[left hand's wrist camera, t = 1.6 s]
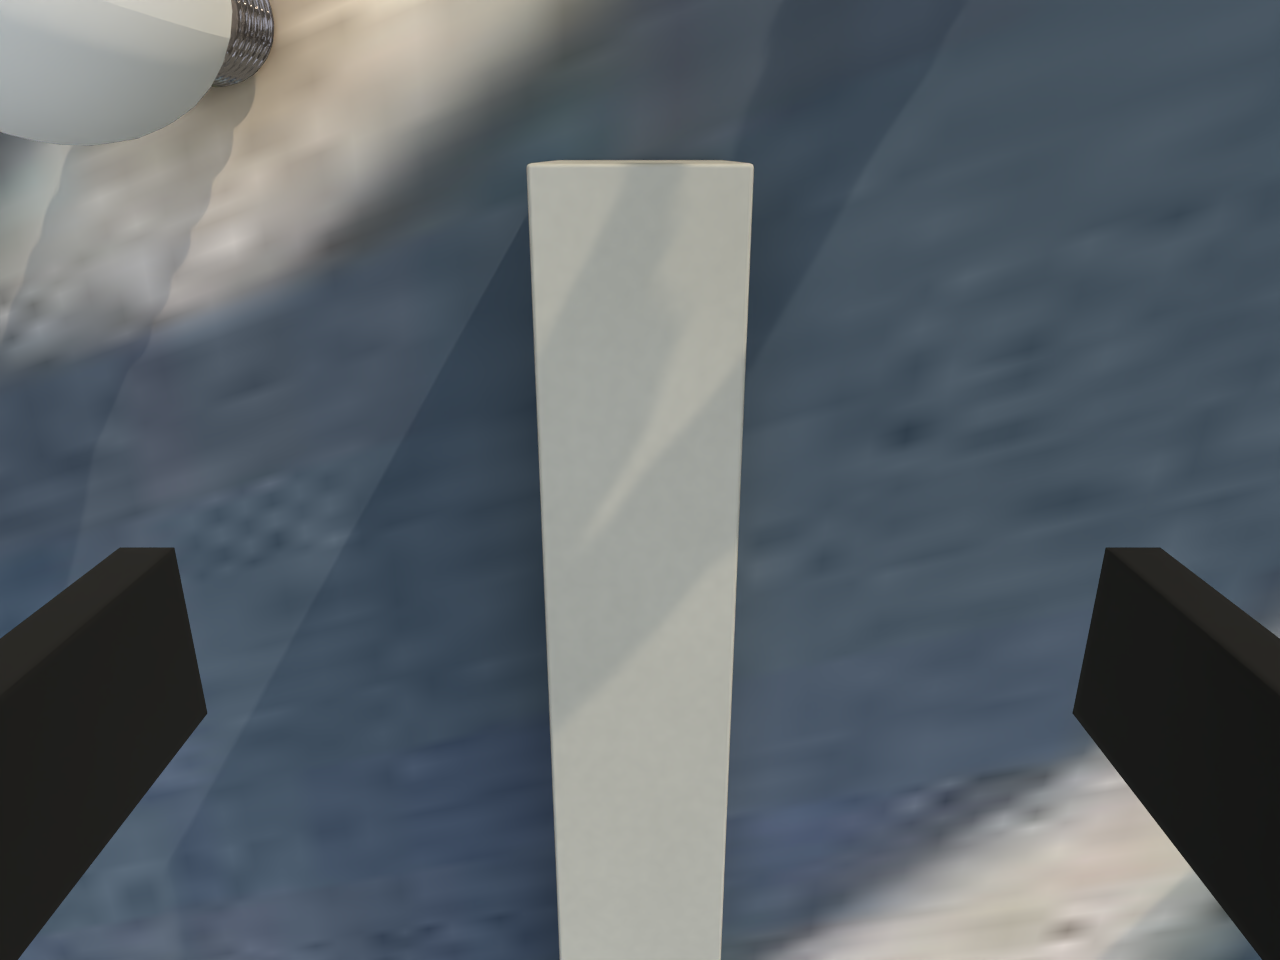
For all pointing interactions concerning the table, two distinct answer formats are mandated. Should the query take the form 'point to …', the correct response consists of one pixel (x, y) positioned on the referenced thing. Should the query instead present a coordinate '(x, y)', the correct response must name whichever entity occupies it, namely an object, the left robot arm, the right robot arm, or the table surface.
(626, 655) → the post
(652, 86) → the table surface
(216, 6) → the light bulb
